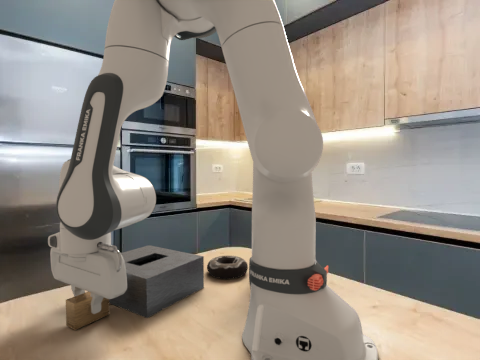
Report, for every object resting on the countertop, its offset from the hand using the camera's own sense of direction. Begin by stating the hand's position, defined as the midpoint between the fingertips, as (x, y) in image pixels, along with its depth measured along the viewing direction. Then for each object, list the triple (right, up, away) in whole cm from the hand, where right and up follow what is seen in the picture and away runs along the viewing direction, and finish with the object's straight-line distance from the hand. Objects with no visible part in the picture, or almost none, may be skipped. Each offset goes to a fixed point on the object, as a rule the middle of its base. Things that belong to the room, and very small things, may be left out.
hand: (88, 309), depth 59 cm
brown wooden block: (0, -2, 0) cm, 2 cm away
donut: (+26, -2, +27) cm, 38 cm away
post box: (+7, -2, +14) cm, 16 cm away
